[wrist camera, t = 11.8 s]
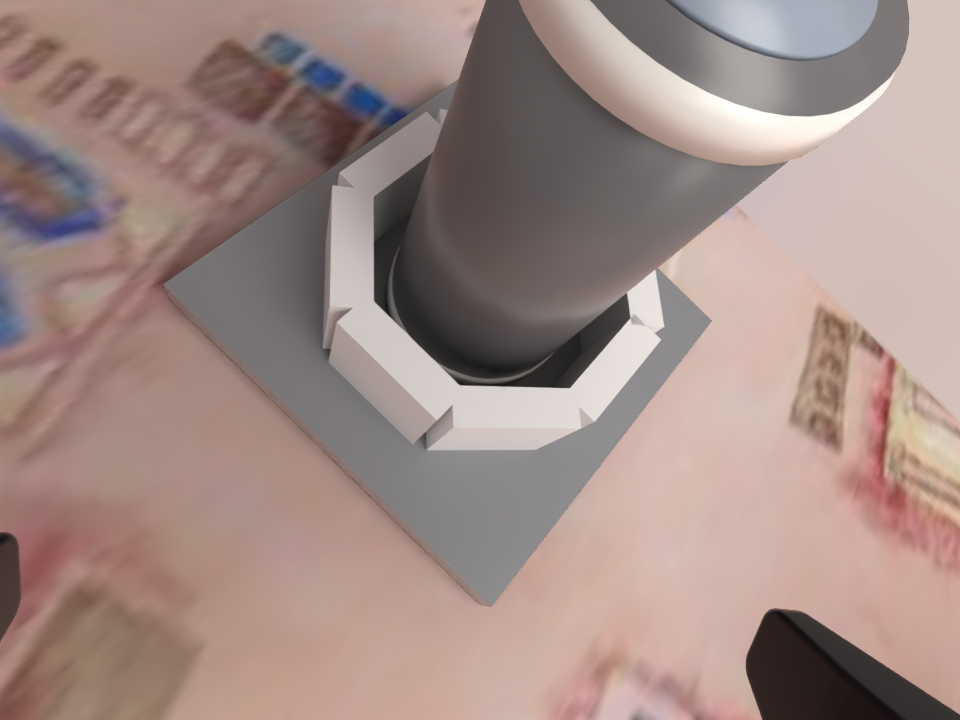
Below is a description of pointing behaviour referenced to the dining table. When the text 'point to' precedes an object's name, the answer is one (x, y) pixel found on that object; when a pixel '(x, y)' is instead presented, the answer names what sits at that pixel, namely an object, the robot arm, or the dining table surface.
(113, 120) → the dining table surface
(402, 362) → the stand
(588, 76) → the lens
